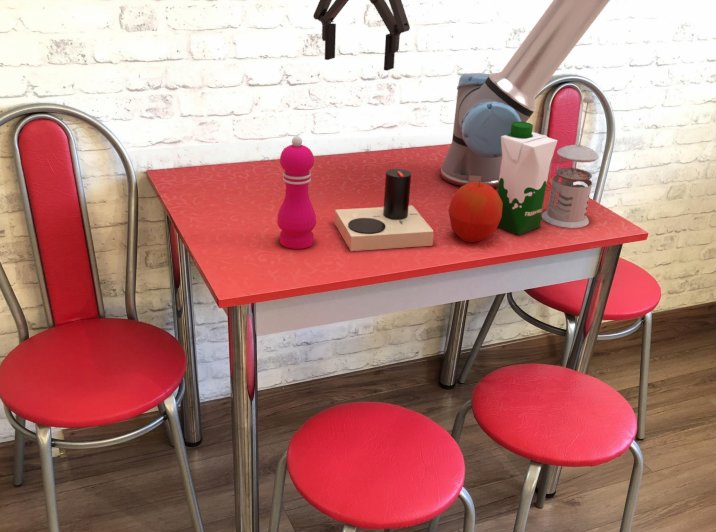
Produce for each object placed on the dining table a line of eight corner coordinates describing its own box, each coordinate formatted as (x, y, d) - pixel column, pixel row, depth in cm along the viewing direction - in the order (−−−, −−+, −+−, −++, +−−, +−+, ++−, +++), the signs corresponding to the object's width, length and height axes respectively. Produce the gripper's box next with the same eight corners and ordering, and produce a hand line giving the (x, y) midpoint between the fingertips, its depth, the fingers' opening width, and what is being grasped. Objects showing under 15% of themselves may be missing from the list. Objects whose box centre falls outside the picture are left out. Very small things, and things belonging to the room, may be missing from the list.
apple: (501, 249, 150) (510, 191, 144) (448, 247, 150) (455, 188, 144) (494, 228, 159) (502, 172, 153) (444, 225, 159) (450, 170, 153)
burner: (379, 218, 153) (379, 216, 153) (389, 232, 147) (389, 231, 147) (344, 220, 151) (344, 218, 151) (353, 235, 146) (353, 233, 145)
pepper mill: (310, 252, 145) (312, 144, 135) (272, 247, 146) (271, 140, 136) (320, 237, 151) (322, 132, 141) (283, 232, 152) (282, 128, 142)
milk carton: (512, 214, 166) (527, 117, 155) (546, 228, 160) (565, 129, 149) (484, 223, 161) (497, 125, 150) (519, 238, 155) (536, 137, 144)
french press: (559, 230, 159) (584, 104, 146) (527, 209, 168) (547, 88, 155) (599, 224, 163) (626, 100, 150) (565, 204, 172) (588, 85, 159)
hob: (411, 219, 161) (412, 204, 159) (432, 245, 150) (434, 230, 149) (334, 223, 157) (335, 208, 155) (350, 251, 147) (351, 235, 145)
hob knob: (380, 210, 156) (382, 167, 151) (403, 209, 157) (406, 166, 152) (387, 220, 152) (390, 176, 147) (410, 219, 153) (414, 175, 148)
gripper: (296, -61, 149) (296, 57, 161) (414, -48, 139) (405, 77, 150) (318, -63, 155) (316, 51, 166) (433, -51, 145) (423, 70, 156)
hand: (358, 64), depth 158 cm, fingers open, 13 cm apart
